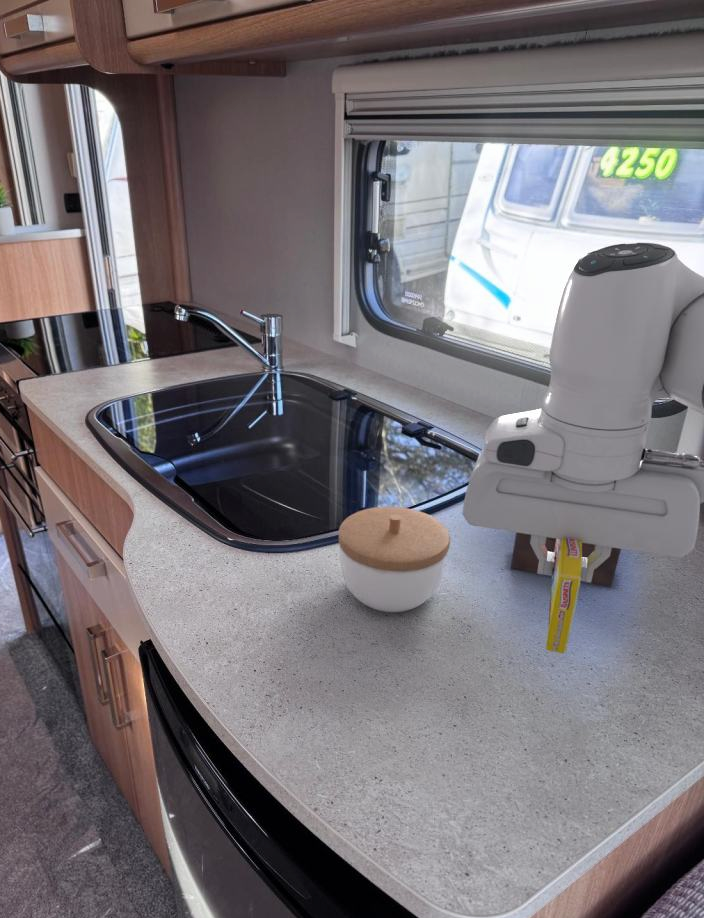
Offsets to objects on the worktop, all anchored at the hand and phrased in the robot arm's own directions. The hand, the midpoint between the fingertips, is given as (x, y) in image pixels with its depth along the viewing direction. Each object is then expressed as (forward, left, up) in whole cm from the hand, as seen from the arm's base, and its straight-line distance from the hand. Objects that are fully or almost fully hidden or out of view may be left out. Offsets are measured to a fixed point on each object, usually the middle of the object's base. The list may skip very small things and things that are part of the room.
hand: (563, 575), depth 70 cm
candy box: (0, 0, -3) cm, 3 cm away
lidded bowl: (+18, -7, -12) cm, 23 cm away
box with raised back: (-1, -30, -12) cm, 32 cm away
